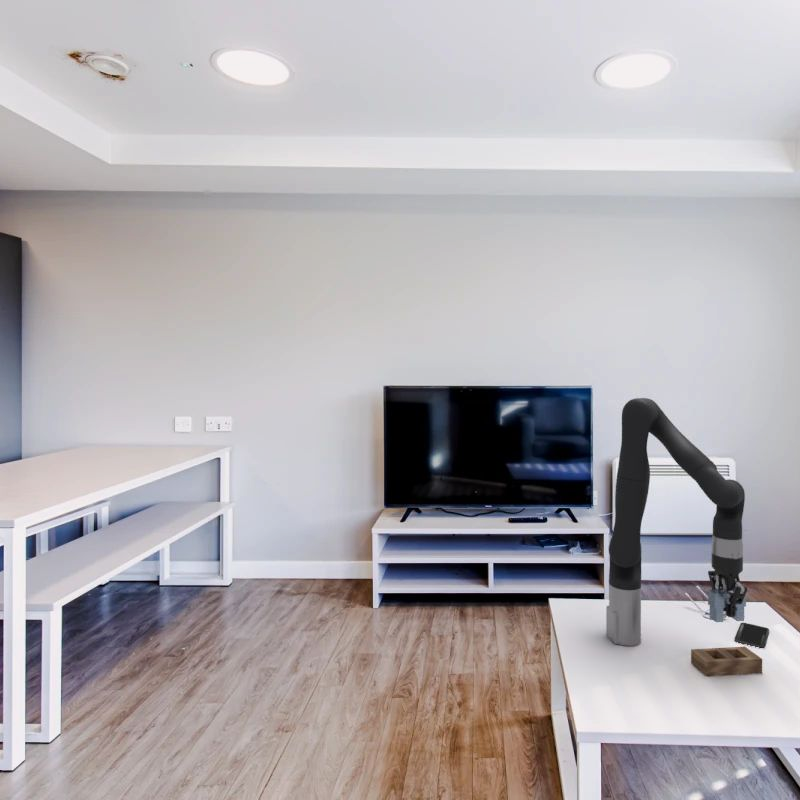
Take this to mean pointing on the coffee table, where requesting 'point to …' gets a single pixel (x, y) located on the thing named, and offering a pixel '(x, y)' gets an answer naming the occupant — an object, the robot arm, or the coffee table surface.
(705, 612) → the silver thin wire frame
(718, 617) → the brushed steel block
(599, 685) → the coffee table surface
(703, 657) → the two-pocket wooden block
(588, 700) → the coffee table surface
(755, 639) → the phone
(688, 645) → the coffee table surface
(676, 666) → the coffee table surface
